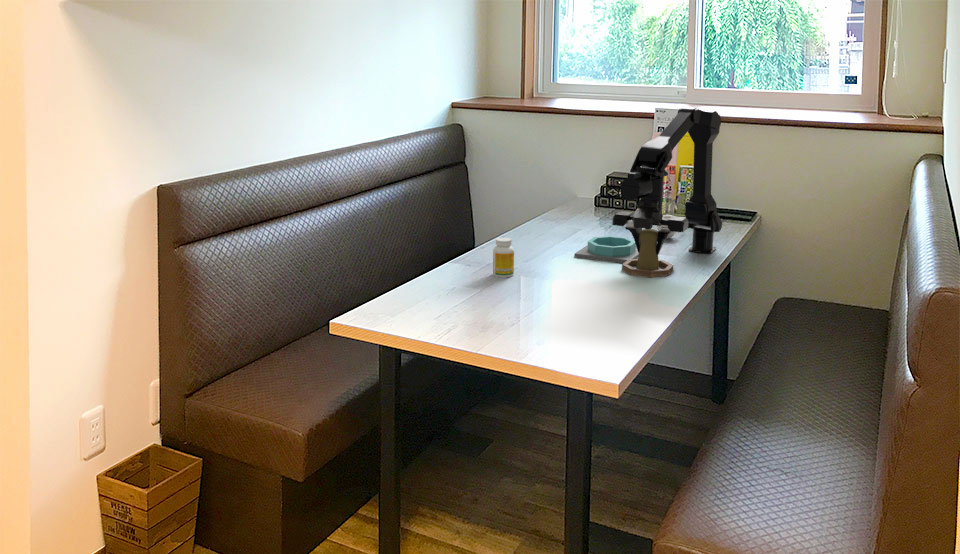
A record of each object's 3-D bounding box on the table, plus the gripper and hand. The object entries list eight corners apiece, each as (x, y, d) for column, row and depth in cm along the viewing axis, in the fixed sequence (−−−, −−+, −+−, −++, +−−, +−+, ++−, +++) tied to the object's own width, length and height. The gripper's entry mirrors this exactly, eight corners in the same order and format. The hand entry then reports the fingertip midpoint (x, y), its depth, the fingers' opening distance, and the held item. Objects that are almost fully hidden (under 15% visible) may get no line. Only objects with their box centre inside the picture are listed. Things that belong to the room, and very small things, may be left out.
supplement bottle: (489, 273, 233) (489, 237, 230) (507, 271, 235) (508, 235, 233) (498, 279, 229) (499, 242, 226) (517, 276, 231) (517, 240, 228)
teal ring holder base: (593, 244, 263) (594, 232, 262) (647, 250, 256) (647, 238, 255) (574, 257, 249) (574, 244, 248) (630, 263, 242) (630, 251, 241)
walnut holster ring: (631, 261, 244) (632, 256, 244) (676, 267, 239) (677, 261, 238) (617, 273, 234) (617, 267, 233) (664, 279, 228) (664, 273, 228)
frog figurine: (675, 235, 273) (677, 213, 271) (678, 241, 266) (679, 218, 265) (655, 235, 274) (656, 212, 272) (657, 240, 267) (658, 217, 265)
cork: (659, 274, 233) (661, 232, 230) (635, 272, 234) (637, 231, 231) (659, 267, 238) (661, 227, 235) (636, 266, 240) (638, 226, 237)
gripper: (606, 197, 228) (604, 256, 232) (679, 203, 220) (675, 265, 224) (620, 189, 237) (617, 247, 242) (690, 195, 229) (686, 255, 234)
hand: (648, 253), depth 235 cm, fingers closed on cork, 4 cm apart
